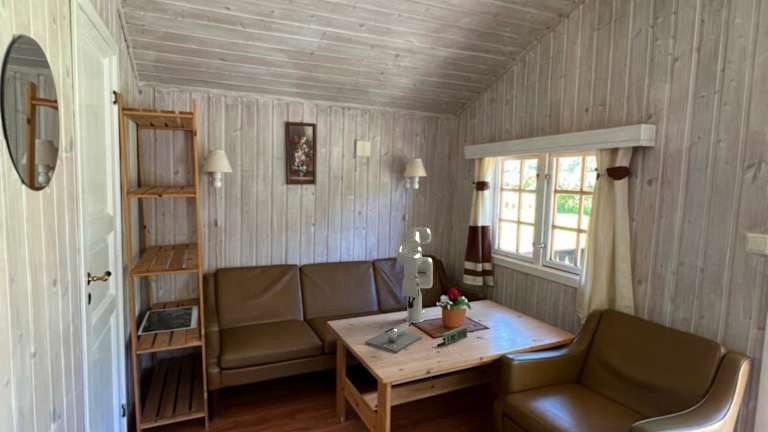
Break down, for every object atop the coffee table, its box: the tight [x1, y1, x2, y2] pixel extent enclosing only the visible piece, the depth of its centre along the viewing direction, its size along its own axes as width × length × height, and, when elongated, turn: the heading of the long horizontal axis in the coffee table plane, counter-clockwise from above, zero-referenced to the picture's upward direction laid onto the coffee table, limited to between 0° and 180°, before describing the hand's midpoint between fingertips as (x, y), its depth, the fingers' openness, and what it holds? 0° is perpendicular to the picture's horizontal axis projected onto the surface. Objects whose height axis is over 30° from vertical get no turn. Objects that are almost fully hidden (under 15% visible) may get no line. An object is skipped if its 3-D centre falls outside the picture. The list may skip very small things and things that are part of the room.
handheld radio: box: [436, 325, 468, 347], centre depth 250 cm, size 7×3×25 cm
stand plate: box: [364, 330, 423, 354], centre depth 250 cm, size 26×22×2 cm
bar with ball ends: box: [384, 321, 412, 343], centre depth 250 cm, size 25×5×8 cm, turn 143°
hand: (410, 307), depth 246 cm, fingers closed
